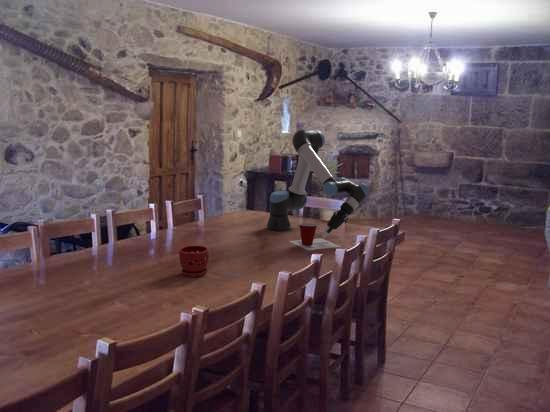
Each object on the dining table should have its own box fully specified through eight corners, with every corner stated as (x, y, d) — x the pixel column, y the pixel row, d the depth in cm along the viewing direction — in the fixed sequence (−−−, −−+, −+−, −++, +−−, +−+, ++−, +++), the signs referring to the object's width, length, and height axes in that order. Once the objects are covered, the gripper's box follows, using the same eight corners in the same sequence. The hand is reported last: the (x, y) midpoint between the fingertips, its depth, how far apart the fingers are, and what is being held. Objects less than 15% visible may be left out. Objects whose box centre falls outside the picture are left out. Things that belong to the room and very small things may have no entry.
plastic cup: (317, 242, 327) (318, 222, 325) (316, 247, 316) (317, 225, 314) (298, 241, 328) (299, 221, 326) (296, 245, 318) (297, 224, 316)
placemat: (288, 241, 329) (288, 240, 329) (321, 238, 339) (321, 238, 339) (307, 250, 310) (307, 249, 310) (341, 246, 319) (341, 246, 319)
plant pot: (183, 269, 266) (183, 244, 264) (211, 271, 265) (211, 245, 263) (175, 277, 253) (175, 251, 251) (205, 279, 252) (205, 252, 250)
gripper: (359, 212, 326) (332, 243, 321) (346, 208, 337) (321, 238, 333) (351, 203, 322) (324, 234, 318) (339, 199, 334) (313, 229, 330)
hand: (322, 236), depth 326 cm, fingers closed
